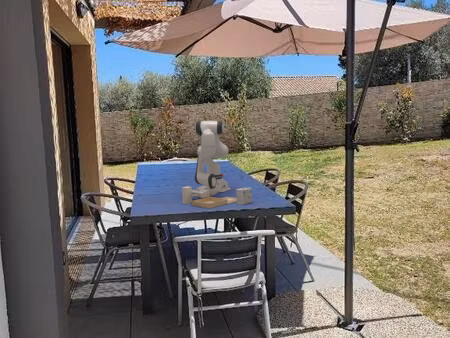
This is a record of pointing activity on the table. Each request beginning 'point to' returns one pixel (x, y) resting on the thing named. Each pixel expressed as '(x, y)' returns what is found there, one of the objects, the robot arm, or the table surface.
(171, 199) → the table surface
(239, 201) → the light bulb box
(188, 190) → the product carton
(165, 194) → the table surface
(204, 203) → the tray
